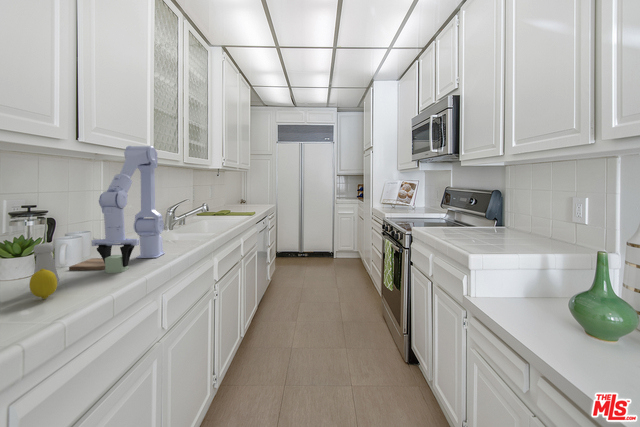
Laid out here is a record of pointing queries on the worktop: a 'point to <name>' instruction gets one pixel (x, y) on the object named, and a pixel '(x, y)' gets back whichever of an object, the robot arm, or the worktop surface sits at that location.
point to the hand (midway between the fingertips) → (117, 266)
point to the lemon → (43, 283)
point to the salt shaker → (45, 258)
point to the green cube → (114, 264)
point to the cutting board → (89, 265)
